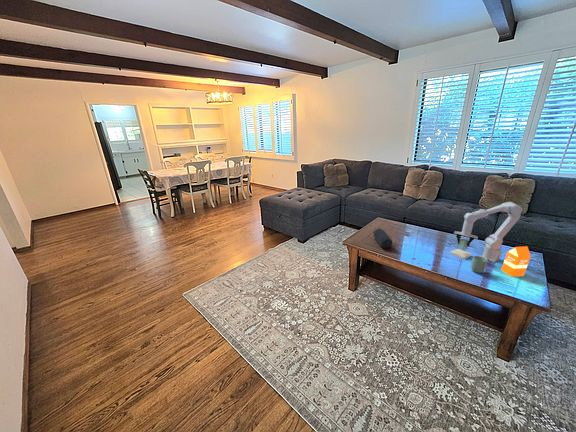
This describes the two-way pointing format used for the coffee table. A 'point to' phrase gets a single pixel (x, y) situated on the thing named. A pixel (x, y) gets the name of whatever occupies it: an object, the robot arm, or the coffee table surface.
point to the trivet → (460, 253)
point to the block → (463, 243)
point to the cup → (478, 264)
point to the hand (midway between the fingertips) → (463, 244)
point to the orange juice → (516, 261)
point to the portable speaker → (382, 238)
